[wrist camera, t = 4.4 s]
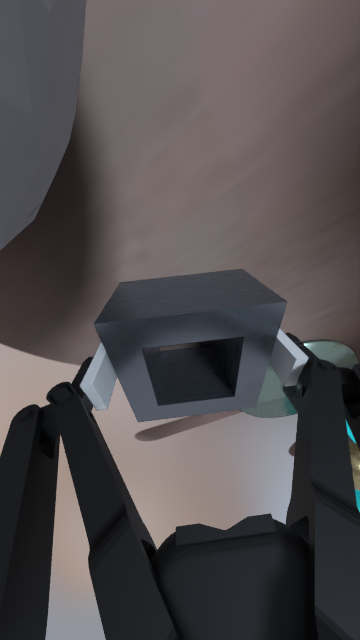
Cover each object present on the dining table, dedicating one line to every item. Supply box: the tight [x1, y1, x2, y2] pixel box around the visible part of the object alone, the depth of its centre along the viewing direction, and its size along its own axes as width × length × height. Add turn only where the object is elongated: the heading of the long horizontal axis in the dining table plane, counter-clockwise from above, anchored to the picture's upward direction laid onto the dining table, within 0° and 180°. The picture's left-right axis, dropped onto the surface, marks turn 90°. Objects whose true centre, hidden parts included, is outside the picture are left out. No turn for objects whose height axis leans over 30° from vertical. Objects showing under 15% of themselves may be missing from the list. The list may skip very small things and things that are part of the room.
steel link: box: [94, 269, 287, 422], centre depth 14 cm, size 10×10×6 cm
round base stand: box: [241, 340, 360, 491], centre depth 19 cm, size 16×16×10 cm
